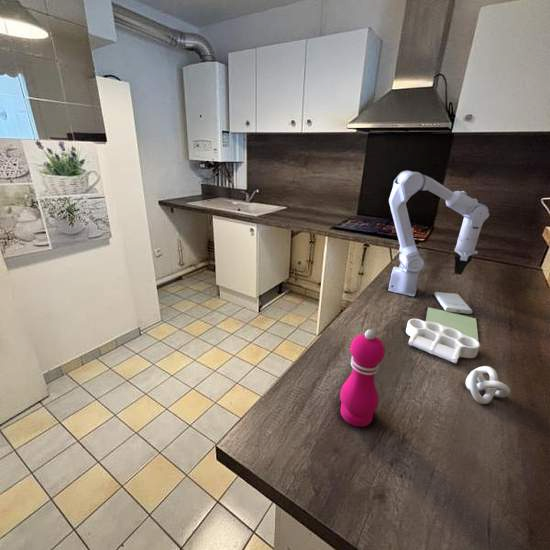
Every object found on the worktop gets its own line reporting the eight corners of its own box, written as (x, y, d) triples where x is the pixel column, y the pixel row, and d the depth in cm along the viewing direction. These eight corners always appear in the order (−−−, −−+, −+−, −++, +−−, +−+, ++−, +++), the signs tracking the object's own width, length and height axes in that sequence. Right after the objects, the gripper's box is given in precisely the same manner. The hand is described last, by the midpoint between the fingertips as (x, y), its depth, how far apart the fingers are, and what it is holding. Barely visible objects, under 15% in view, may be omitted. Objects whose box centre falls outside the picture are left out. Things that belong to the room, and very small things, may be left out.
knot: (486, 414, 59) (495, 393, 57) (450, 387, 66) (457, 367, 64) (509, 403, 62) (518, 382, 60) (472, 378, 69) (480, 358, 66)
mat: (424, 326, 89) (424, 326, 89) (428, 307, 100) (428, 307, 100) (478, 341, 83) (478, 340, 83) (475, 319, 94) (476, 318, 94)
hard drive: (457, 298, 108) (471, 314, 96) (433, 295, 109) (444, 311, 98) (458, 294, 107) (473, 310, 96) (434, 291, 108) (446, 307, 97)
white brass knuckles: (395, 342, 81) (412, 322, 91) (469, 373, 70) (479, 346, 80) (397, 332, 80) (414, 312, 90) (473, 362, 69) (483, 336, 79)
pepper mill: (333, 400, 62) (344, 319, 54) (366, 398, 62) (381, 318, 55) (344, 430, 55) (357, 343, 47) (380, 428, 56) (400, 342, 48)
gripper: (483, 244, 94) (471, 282, 100) (480, 235, 106) (469, 269, 111) (458, 241, 98) (447, 278, 103) (458, 232, 109) (448, 265, 114)
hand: (457, 273), depth 107 cm, fingers closed
